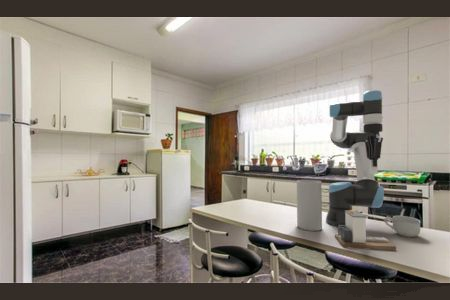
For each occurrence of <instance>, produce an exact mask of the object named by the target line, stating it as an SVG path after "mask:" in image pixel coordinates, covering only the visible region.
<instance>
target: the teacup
mask: <svg viewBox="0 0 450 300" xmlns="http://www.w3.org/2000/svg"><path fill="white" fill-rule="evenodd" d="M388 220H390V221H391V223H392V224H389V223H388ZM384 223H385V225H386V226H388V227H389V228H391V229H392V230H394V231H395V232H396V233H397V234H398V235H400V236H402V237H406V238H414V237H417V236H418V235H420V233H421V220H420V219H418V218H415V217H413V216H412V217H411V216H406V215H394V216H392V217H390V216H386V217H385V218H384Z"/></svg>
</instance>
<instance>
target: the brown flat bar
mask: <svg viewBox="0 0 450 300" xmlns="http://www.w3.org/2000/svg"><path fill="white" fill-rule="evenodd" d="M381 237H382V236H381ZM381 237H366V241H370V242H387V243H389V242H390V241H389V239H388V238H386V237H383V238H381ZM339 238H340V239H341V240H342V237H341V236H340V235H339Z"/></svg>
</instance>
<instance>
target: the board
mask: <svg viewBox="0 0 450 300" xmlns="http://www.w3.org/2000/svg"><path fill="white" fill-rule="evenodd" d="M366 237H381V238H384V237H382V236H378V235H377V236H376V235H366ZM334 238H335V240H337V242H338V243H339V244H340V245H341V246H342V247H343V248H348V247H351V248H352V249H364V248H370V249H369V250H379V249H383V250H382V251H394V250H395V251H397V246H396V245H394V244H393V243H391V242H390V241H389V243H387V242H370V241H366V243H361V242H344V241H343V240H341V239H340V238H339V236H338V233H334Z"/></svg>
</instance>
